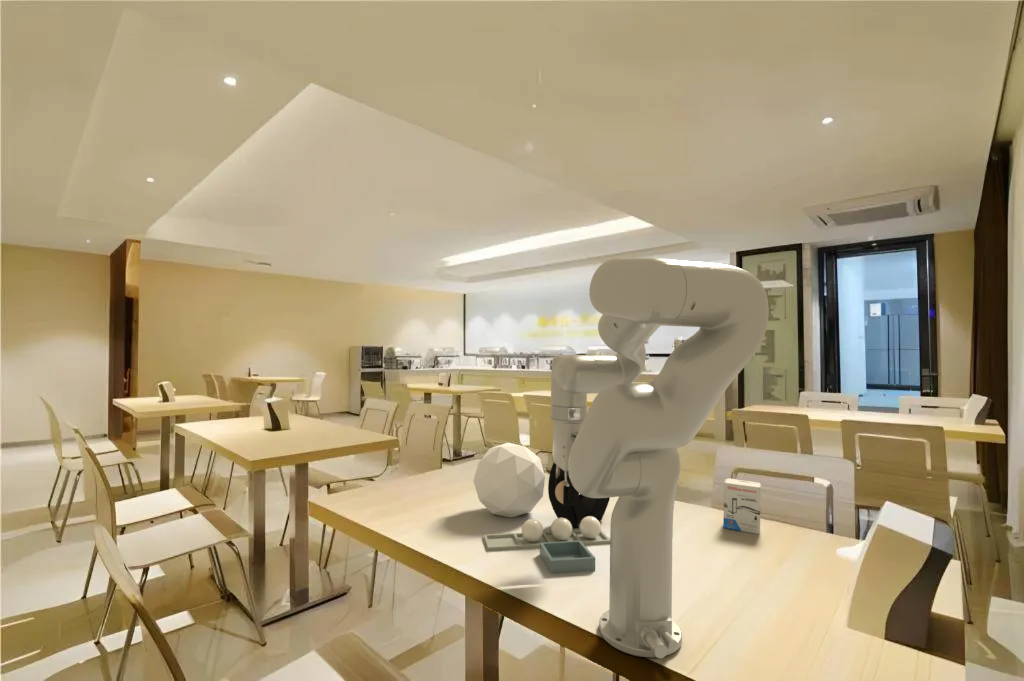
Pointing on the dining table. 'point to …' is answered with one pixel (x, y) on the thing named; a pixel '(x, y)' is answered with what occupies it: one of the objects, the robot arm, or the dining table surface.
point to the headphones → (576, 513)
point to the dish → (567, 557)
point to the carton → (520, 543)
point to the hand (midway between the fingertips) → (566, 500)
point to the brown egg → (560, 491)
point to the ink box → (742, 505)
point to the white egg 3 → (590, 527)
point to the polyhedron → (509, 480)
